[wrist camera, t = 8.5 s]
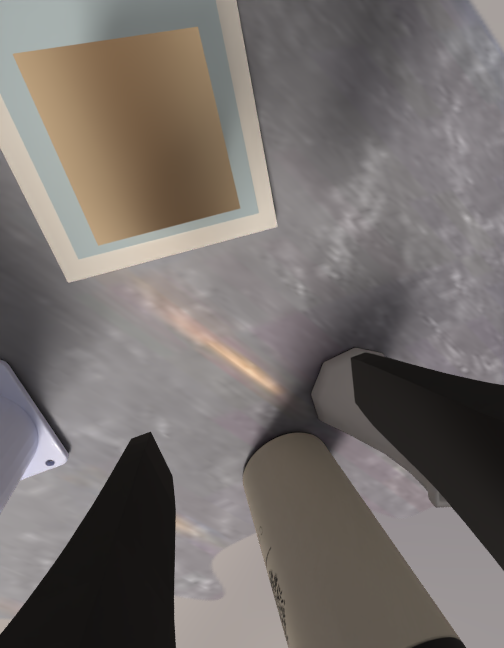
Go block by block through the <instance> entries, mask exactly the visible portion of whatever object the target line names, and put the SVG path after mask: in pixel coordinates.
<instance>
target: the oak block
mask: <svg viewBox="0 0 504 648" xmlns="http://www.w3.org/2000/svg"><path fill="white" fill-rule="evenodd" d="M13 56H14V59H15V61H16V63H17V65H18V68H19V70H20V72H21V74H22V77H23V79H24V81H25V83H26V85H27V88H28V90H29V92H30V94H31V97H32V99H33V101H34V103H35V106H36V108H37V110H38V112H39V115H40V117H41V119H42V121H43V124H44V126H45V128H46V130H47V132H48V135H49V137H50V139H51V141H52V144H53V146H54V148H55V150H56V153H57V155H58V157H59V159H60V162H61V164H62V166H63V168H64V170H65V173H66V175H67V177H68V179H69V182H70V184H71V186H72V188H73V191H74V193H75V195H76V197H77V200H78V202H79V204H80V206H81V209H82V211H83V213H84V215H85V217H86V220H87V222H88V224H89V226H90V229H91V231H92V233H93V235H94V238H95V240H96V242H97V244H98V246H99V245H103V244H107V243H111V242H114V241H118V240H122V239H126V238H130V237H134V236H137V235H141V234H145V233H149V232H153V231H156V230H160V229H164V228H168V227H172V226H175V225H179V224H183V223H187V222H191V221H195V220H198V219H202V218H206V217H210V216H214V215H217V214H221V213H225V212H229V211H233V210H237V209H240V204H239V199H238V195H237V191H236V187H235V182H234V178H233V174H232V170H231V165H230V161H229V157H228V153H227V148H226V144H225V140H224V136H223V131H222V127H221V123H220V119H219V114H218V110H217V106H216V102H215V97H214V93H213V89H212V85H211V80H210V76H209V72H208V68H207V63H206V59H205V55H204V51H203V46H202V42H201V38H200V34H199V29H198V27H192V28H185V29H178V30H171V31H164V32H158V33H151V34H144V35H137V36H130V37H123V38H117V39H110V40H103V41H96V42H89V43H82V44H76V45H69V46H62V47H55V48H48V49H42V50H35V51H28V52H21V53H14V54H13Z"/></svg>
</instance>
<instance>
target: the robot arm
mask: <svg viewBox="0 0 504 648" xmlns="http://www.w3.org/2000/svg"><path fill="white" fill-rule="evenodd" d="M351 368H352V378H353V388H354V398H355V403H356V405H357V406H358V407H359V409H360V410H361V411H362V413H363V414H364V415H365V416H366V418H367V419H368V420H369V421H370V423H371V424H372V425H373V426H374V427H375V428H376V429H377V430H378V431H379V432H380V433H381V434H382V435H383V436H384V437H385V438H386V439H387V440H388V441H389V442H390V443H391V444H392V445H393V446H394V447H395V448H396V449H397V450H398V451H399V452H400V453H401V454H402V455H403V456H404V457H405V458H406V459H407V460H408V461H409V462H410V463H411V464H412V465H413V466H414V467H415V468H416V469H417V470H418V471H419V472H420V473H421V474H422V475H423V476H424V477H425V478H426V479H427V480H428V481H429V482H430V483H431V484H432V485H433V486H434V487H435V488H436V489H437V491H438V492H439V493H440V494H441V495H442V496H443V497H444V499H445V500H446V501H447V502H448V503H449V505H450V506H451V507H452V508H453V509H454V510H455V511H456V513H457V514H458V515H459V516H460V517H461V519H462V520H463V521H464V522H465V523H466V525H467V526H468V527H469V528H470V529H471V531H472V532H473V533H474V534H475V536H476V537H477V538H478V539H479V540H480V542H481V543H482V544H483V545H484V547H485V548H486V549H487V550H488V551H489V553H490V554H491V555H492V556H493V558H494V559H495V560H496V561H497V563H498V564H499V565H500V566H501V568H502V569H503V570H504V385H499V384H493V383H488V382H482V381H477V380H473V379H468V378H464V377H459V376H455V375H451V374H446V373H442V372H438V371H435V370H431V369H427V368H423V367H419V366H416V365H412V364H409V363H405V362H401V361H398V360H394V359H391V358H387V357H383V356H379V355H375V354H371V353H366V352H365V353H362V354H359V355H357V356H354V357H351ZM68 457H69V454H68V452H67V451H66V449H65V448H64V446H63V445H62V443H61V442H60V440H59V439H58V437H57V436H56V434H55V433H54V431H53V430H52V428H51V427H50V425H49V424H48V422H47V421H46V419H45V418H44V416H43V415H42V413H41V412H40V411H39V409H38V408H37V406H36V405H35V403H34V402H33V400H32V399H31V397H30V396H29V394H28V393H27V391H26V390H25V388H24V387H23V385H22V384H21V382H20V381H19V379H18V378H17V376H16V375H15V373H14V372H13V370H12V369H11V367H10V366H9V364H8V363H7V362H5V361H3V360H0V513H1V512H2V510H3V508H4V507H5V505H6V503H7V502H8V500H9V498H10V496H11V495H12V493H13V491H14V490H15V488H16V486H17V485H18V483H19V481H20V480H22V479H25V478H28V477H30V476H33V475H36V474H38V473H41V472H44V471H47V470H49V469H52V468H55V467H57V466H60V465H63V464H64V463H66V461H67V459H68ZM49 460H53V461H49ZM175 518H176V508H175V496H174V486H173V477H172V474H171V472H170V470H169V468H168V466H167V464H166V462H165V460H164V458H163V456H162V454H161V452H160V450H159V448H158V445H157V443H156V441H155V439H154V437H153V435H152V433H151V432H148V433H146V434H143V435H140V436H138V437H135V438H132V439H131V440H130V442H129V444H128V445H127V447H126V449H125V451H124V452H123V454H122V456H121V457H120V459H119V461H118V463H117V464H116V466H115V468H114V470H113V471H112V473H111V475H110V477H109V478H108V480H107V482H106V483H105V485H104V487H103V488H102V490H101V492H100V494H99V495H98V497H97V499H96V500H95V502H94V504H93V505H92V507H91V508H90V510H89V511H88V513H87V515H86V516H85V518H84V519H83V521H82V522H81V524H80V525H79V527H78V528H77V530H76V532H75V533H74V535H73V536H72V538H71V539H70V541H69V542H68V544H67V545H66V547H65V548H64V550H63V551H62V553H61V554H60V556H59V557H58V559H57V560H56V561H55V563H54V564H53V566H52V567H51V568H50V570H49V571H48V573H47V574H46V575H45V577H44V578H43V579H42V581H41V582H40V584H39V585H38V586H37V588H36V589H35V590H34V592H33V593H32V594H31V596H30V597H29V599H28V600H27V601H26V603H25V604H24V605H23V606H22V608H21V609H20V610H19V612H18V613H17V614H16V616H15V617H14V618H13V619H12V621H11V622H10V623H9V624H8V626H7V627H6V628H5V629H4V631H3V632H2V633H1V634H0V648H176V642H175V626H174V569H175Z"/></svg>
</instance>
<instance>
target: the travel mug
mask: <svg viewBox="0 0 504 648" xmlns="http://www.w3.org/2000/svg"><path fill="white" fill-rule="evenodd" d="M243 486H244V490H245V493H246V497H247V501H248V504H249V508H250V511H251V515H252V519H253V522H254V526H255V529H256V533H257V537H258V540H259V544H260V547H261V551H262V555H263V558H264V562H265V565H266V569H267V573H268V576H269V580H270V583H271V587H272V591H273V594H274V598H275V601H276V605H277V608H278V612H279V616H280V619H281V623H282V626H283V630H284V634H285V637H286V641H287V644H288V647H289V648H466V647H465V645H464V644H463V642H462V641H461V640H460V638H459V637H458V635H457V634H456V633H455V631H454V630H453V628H452V627H451V625H450V624H449V622H448V621H447V620H446V618H445V617H444V615H443V614H442V612H441V611H440V610H439V608H438V607H437V605H436V604H435V602H434V601H433V599H432V598H431V597H430V595H429V594H428V592H427V591H426V589H425V588H424V587H423V585H422V584H421V582H420V581H419V579H418V578H417V577H416V575H415V574H414V573H413V571H412V569H411V568H410V566H409V565H408V564H407V562H406V561H405V560H404V558H403V556H402V555H401V554H400V552H399V551H398V549H397V548H396V547H395V545H394V544H393V542H392V541H391V539H390V538H389V537H388V535H387V534H386V532H385V531H384V529H383V528H382V527H381V525H380V523H379V522H378V521H377V519H376V518H375V516H374V515H373V513H372V512H371V511H370V509H369V508H368V506H367V505H366V503H365V502H364V500H363V499H362V498H361V496H360V495H359V493H358V492H357V490H356V489H355V488H354V486H353V485H352V483H351V482H350V480H349V479H348V478H347V476H346V475H345V473H344V472H343V470H342V469H341V468H340V466H339V465H338V463H337V462H336V460H335V459H334V457H333V456H332V455H331V453H330V452H329V450H328V449H327V447H326V446H325V445H324V443H323V442H322V441H321V440H320V439H319V438H317V437H316V436H314V435H311V434H307V433H290V434H286V435H282V436H280V437H277V438H275V439H273V440H271V441H269V442H268V443H266V444H265V445H263V446H262V447H261V448H260V449H259V450H258V451H257V452H256V453H255V454H254V455H253V456H252V457H251V459H250V460H249V462H248V464H247V466H246V468H245V471H244V474H243Z"/></svg>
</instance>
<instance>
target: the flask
mask: <svg viewBox="0 0 504 648" xmlns="http://www.w3.org/2000/svg"><path fill="white" fill-rule="evenodd" d="M365 352H366V353H371V354H375V355H379V356H383V357H385V356H384V355H383V353H379V352H374V351H370V350H365V349H360V348H353V349H351V350H349V351H347V352H344V353H342V354H340V355H338V356H336V357H334V358H332V359H330V360H328V361H325V362H323V365H322V367H321V370H320V373H319V375H318V378H317V380H316V383H315V385H314V388H313V390H312V393H311V396H312V399H313V402H314V405H315V408H316V412H317V415H318V418H319V420H321V421H323V422H325V423H326V424H328V425H330V426H332V427H335V428H337V429H339V430H341V431H343V432H345V433H347V434H349V435H351V436H353V437H355V438H357V439H358V440H360V441H362V442H364V443H366V444H368V445H370V446H371V447H373V448H375V449H377V450H379V451H381V452H383V453H384V454H386V455H387V456H388V457H390V458H391V459H392V460H394V461H395V462H397V463H398V464H399V465H401V466H402V467H403V468H405V469H406V470H407V471H409V472H410V473H411V474H412V475H413V476H414V477H415V478H416V479H417V480H418V481H419V482H420V483H421V484H422V485H423V486H424V487H425V489H426V490H427V491H428V497H429V500H430V501H431V503H432V504H433V505H434V506H435V507H451V506H450V505H449V503H448V502H447V501H446V500H445V499H444V497H443V496H442V495H441V494H440V493H439V492H438V491H437V489H436V488H435V487H434V486H433V485H432V484H431V483H430V482H429V481H428V480H427V479H426V478H425V477H424V476H423V475H422V474H421V473H420V472H419V471H418V470H417V469H416V468H415V467H414V466H413V465H412V464H411V463H410V462H409V461H408V460H407V459H406V458H405V457H404V456H403V455H402V454H401V453H400V452H399V451H398V450H397V449H396V448H395V447H394V446H393V445H392V444H391V443H390V442H389V441H388V440H387V439H386V438H385V437H384V436H383V435H382V434H381V433H380V432H379V431H378V430H377V429H376V428H375V427H374V426H373V425H372V424H371V423H370V421H369V420H368V419H367V418H366V416H365V415H364V414H363V413H362V411H361V410H360V409H359V407H358V406H357V405H356V403H355V398H354V388H353V378H352V368H351V357H354V356H357V355H359V354H362V353H365Z"/></svg>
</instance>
